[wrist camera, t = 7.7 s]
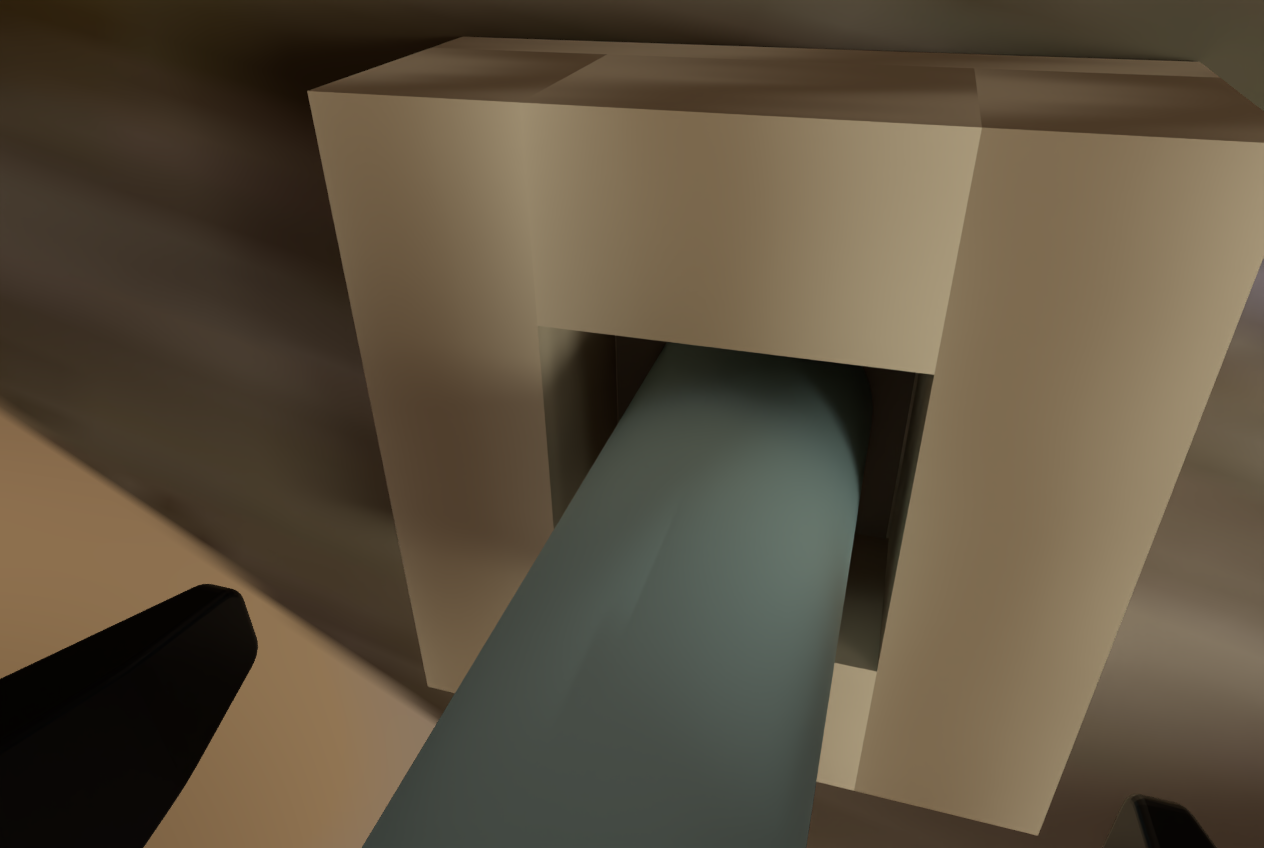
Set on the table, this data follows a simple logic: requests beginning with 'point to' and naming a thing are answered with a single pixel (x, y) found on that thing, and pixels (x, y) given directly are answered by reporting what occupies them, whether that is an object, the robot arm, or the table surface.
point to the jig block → (812, 337)
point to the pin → (665, 629)
